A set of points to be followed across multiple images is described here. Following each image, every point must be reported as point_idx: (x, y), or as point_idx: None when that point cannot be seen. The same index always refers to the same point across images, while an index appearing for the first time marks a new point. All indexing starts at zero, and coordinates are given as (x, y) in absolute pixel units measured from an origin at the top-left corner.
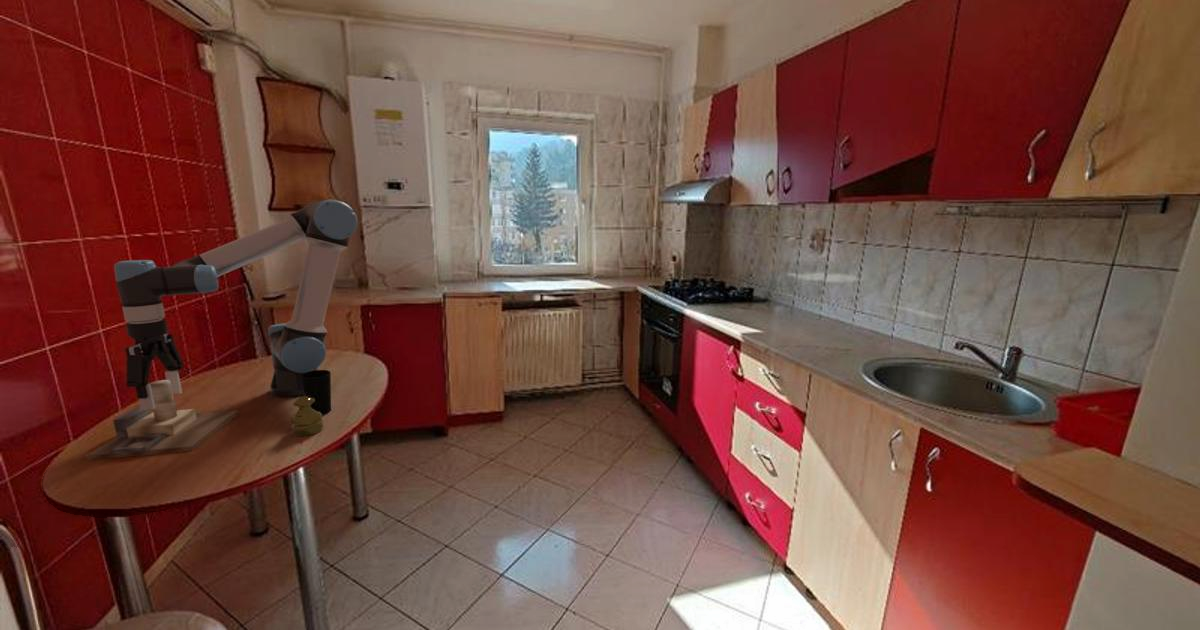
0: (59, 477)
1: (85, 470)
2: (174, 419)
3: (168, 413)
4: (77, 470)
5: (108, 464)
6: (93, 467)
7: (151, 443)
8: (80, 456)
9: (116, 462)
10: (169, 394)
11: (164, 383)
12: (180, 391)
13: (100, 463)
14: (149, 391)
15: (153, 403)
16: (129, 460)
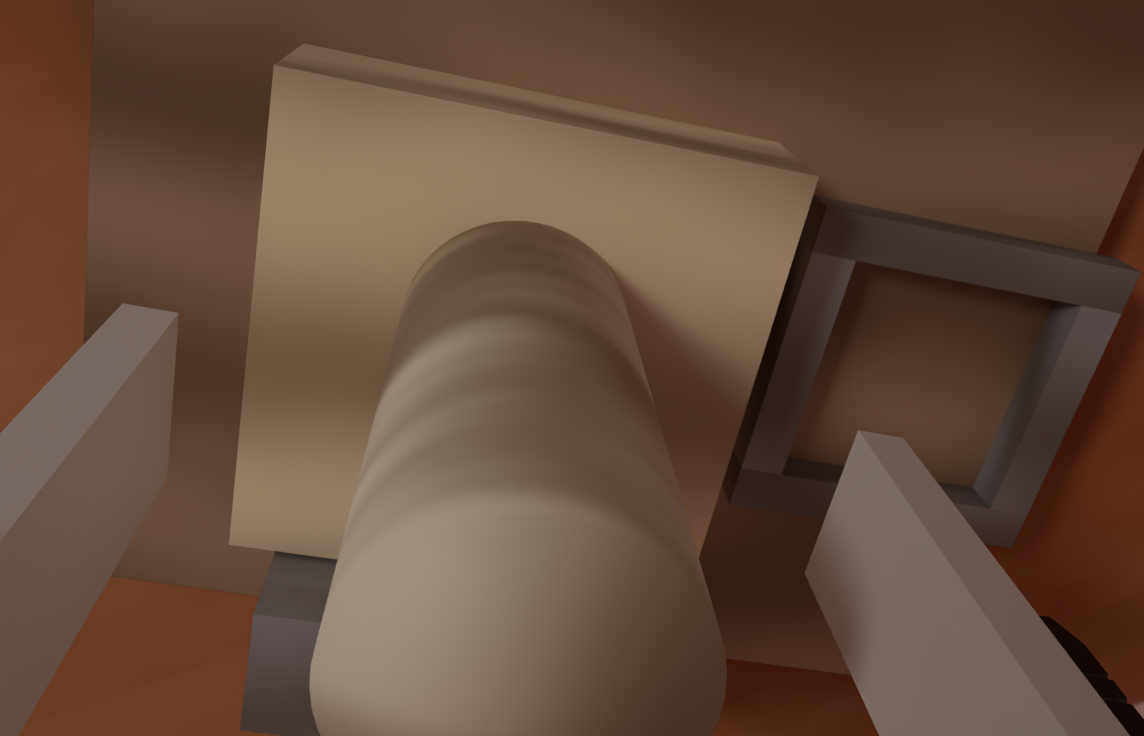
0: (1130, 681)
1: (1108, 582)
2: (636, 206)
3: (617, 296)
4: (1070, 631)
5: (1090, 478)
6: (1082, 555)
7: (1057, 258)
8: (781, 721)
9: (1085, 437)
10: (590, 385)
11: (666, 562)
12: (160, 325)
13: (1027, 541)
14: (1058, 647)
15: (915, 479)
16: (1107, 355)
